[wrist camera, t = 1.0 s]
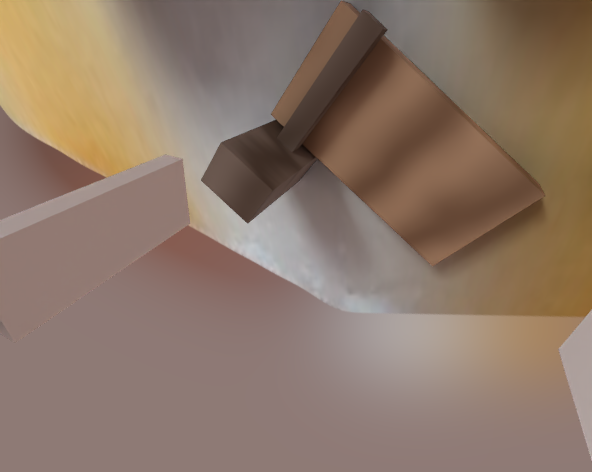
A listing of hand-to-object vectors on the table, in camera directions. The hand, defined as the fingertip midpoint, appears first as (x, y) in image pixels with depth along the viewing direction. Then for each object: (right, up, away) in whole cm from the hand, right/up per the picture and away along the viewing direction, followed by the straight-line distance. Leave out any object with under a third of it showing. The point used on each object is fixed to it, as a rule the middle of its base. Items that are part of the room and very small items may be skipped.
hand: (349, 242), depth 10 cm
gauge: (+1, +12, +18) cm, 22 cm away
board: (+7, +8, +17) cm, 21 cm away
